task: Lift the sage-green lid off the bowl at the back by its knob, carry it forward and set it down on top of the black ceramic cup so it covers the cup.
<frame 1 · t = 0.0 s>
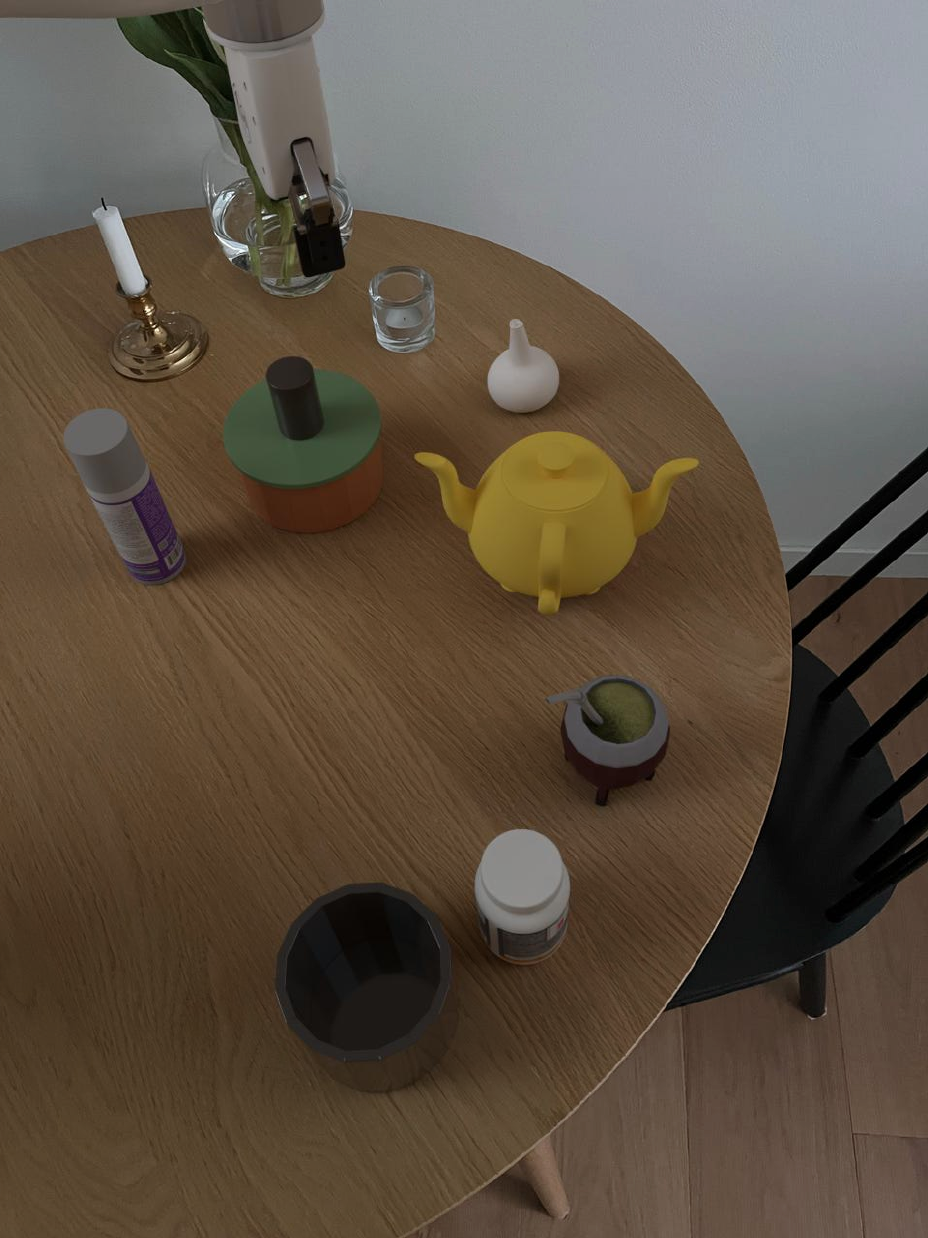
hand: (306, 232, 80), 17 cm above the table, tool pointing down, fingers open, 9 cm apart
container: (158, 563, 86), on the table
pill bottle: (522, 923, 68), on the table
bowl: (315, 479, 90), on the table
mate gourd: (604, 771, 74), on the table
garlic bulb: (523, 394, 94), on the table
teapot: (550, 563, 84), on the table
lid: (303, 429, 85), point 6 cm above the table, touching bowl
cup: (380, 1009, 65), on the table
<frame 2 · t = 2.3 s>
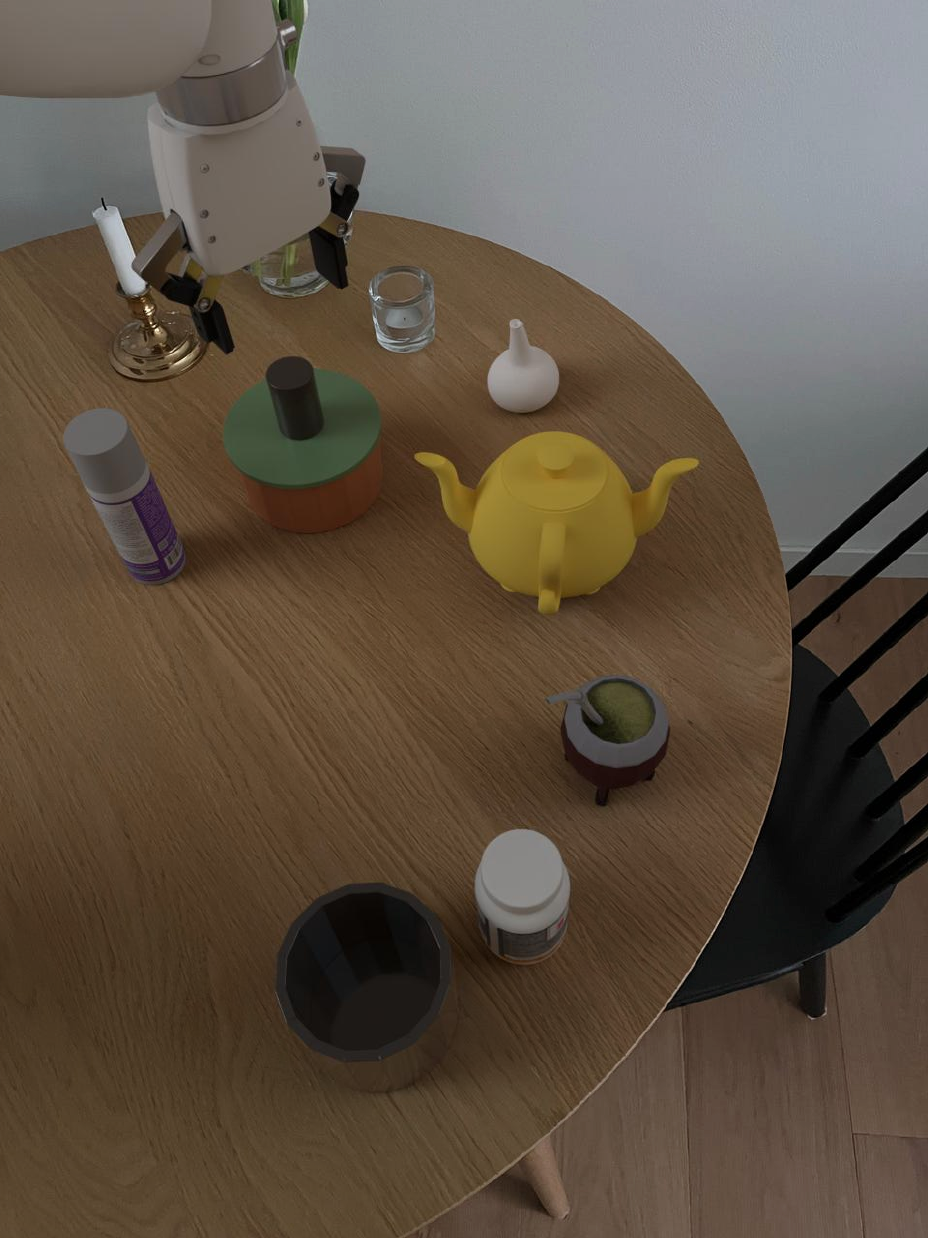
hand: (277, 310, 75), 18 cm above the table, tool pointing down, fingers open, 9 cm apart
nothing on the table moved.
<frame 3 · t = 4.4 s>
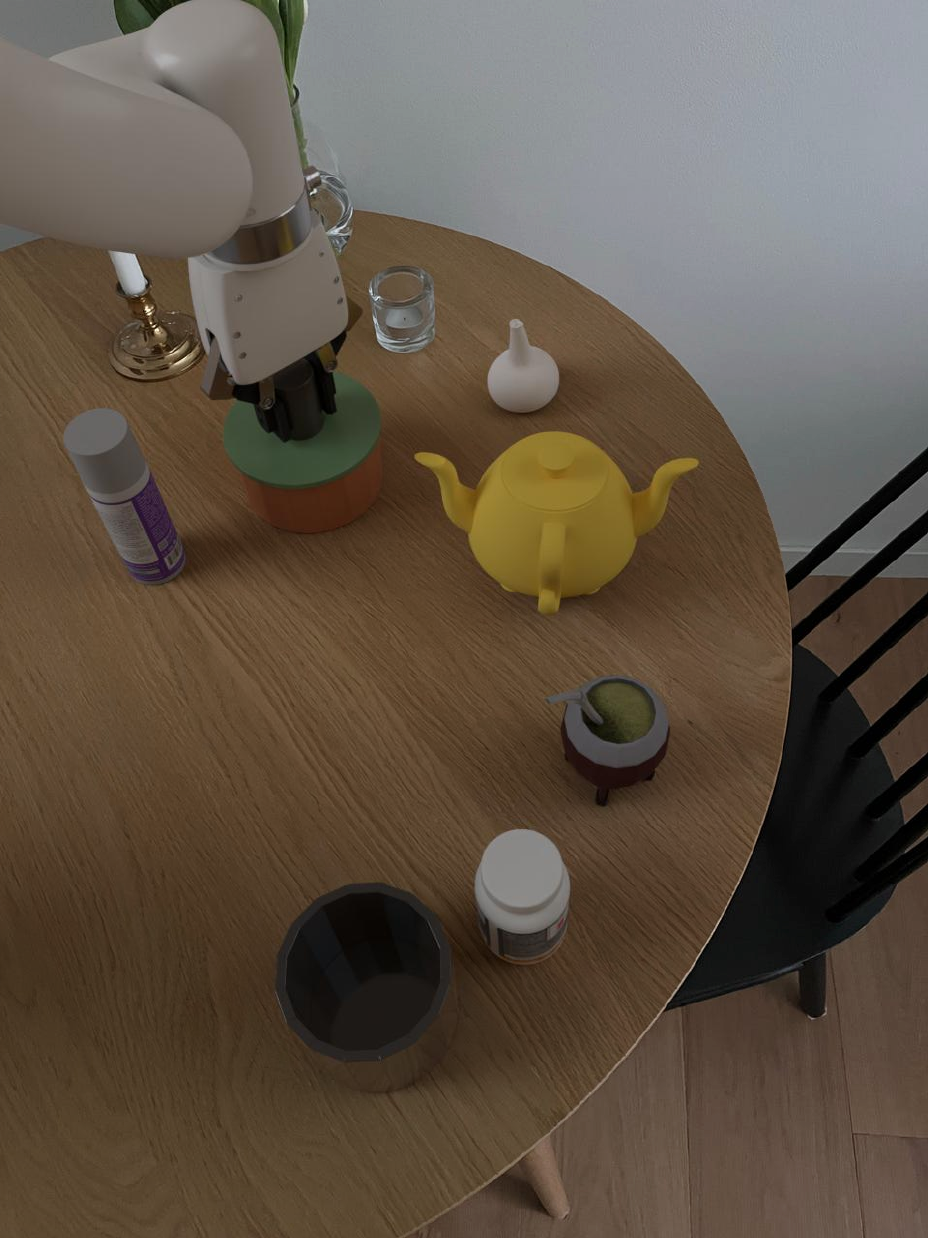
hand: (299, 416, 83), 7 cm above the table, tool pointing down, fingers closed on lid, 3 cm apart
lid: (303, 429, 85), point 6 cm above the table, touching gripper, bowl
everything else where it was.
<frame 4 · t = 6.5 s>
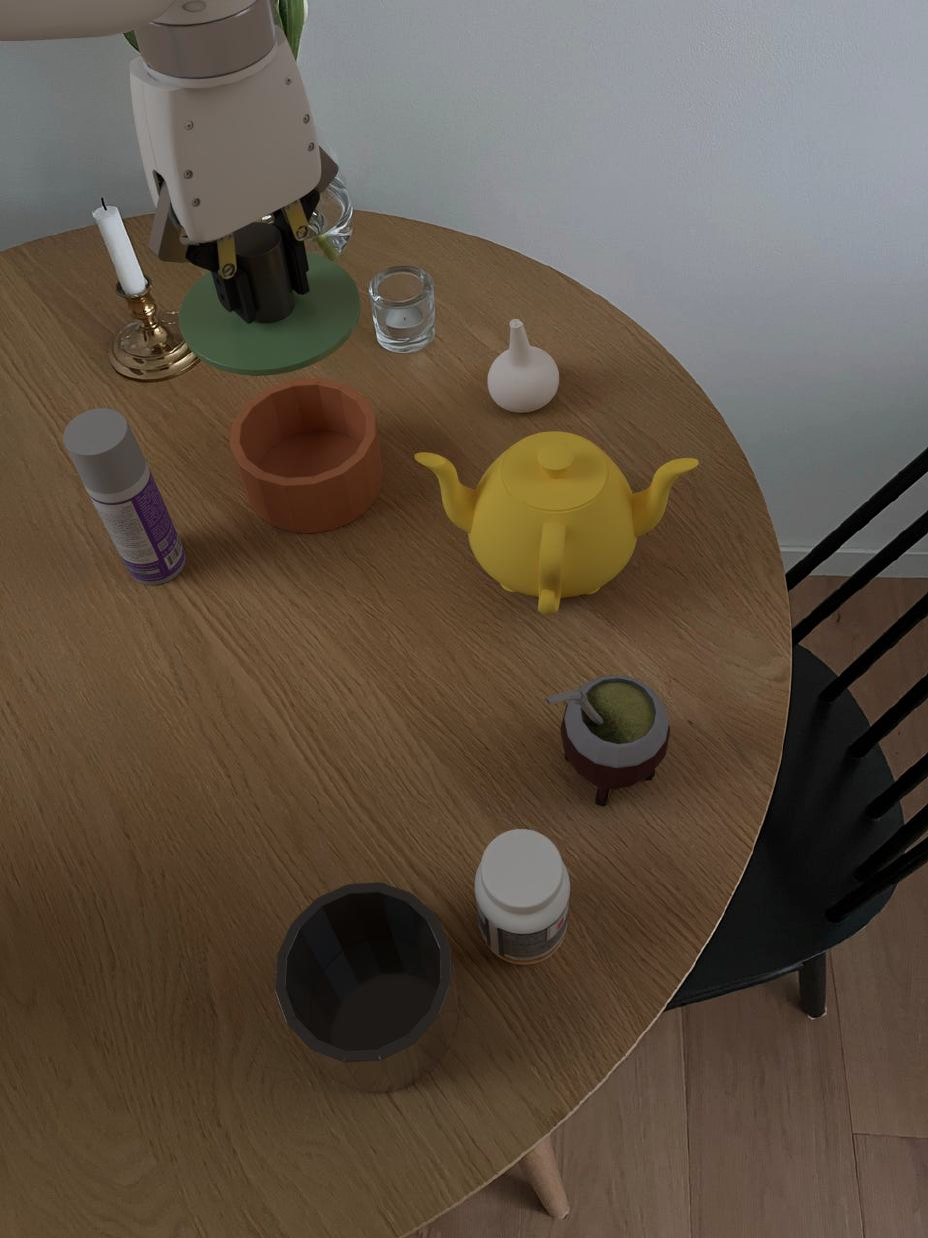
hand: (267, 296, 73), 20 cm above the table, tool pointing down, fingers closed on lid, 3 cm apart
lid: (271, 313, 74), point 18 cm above the table, touching gripper
everything else where it was.
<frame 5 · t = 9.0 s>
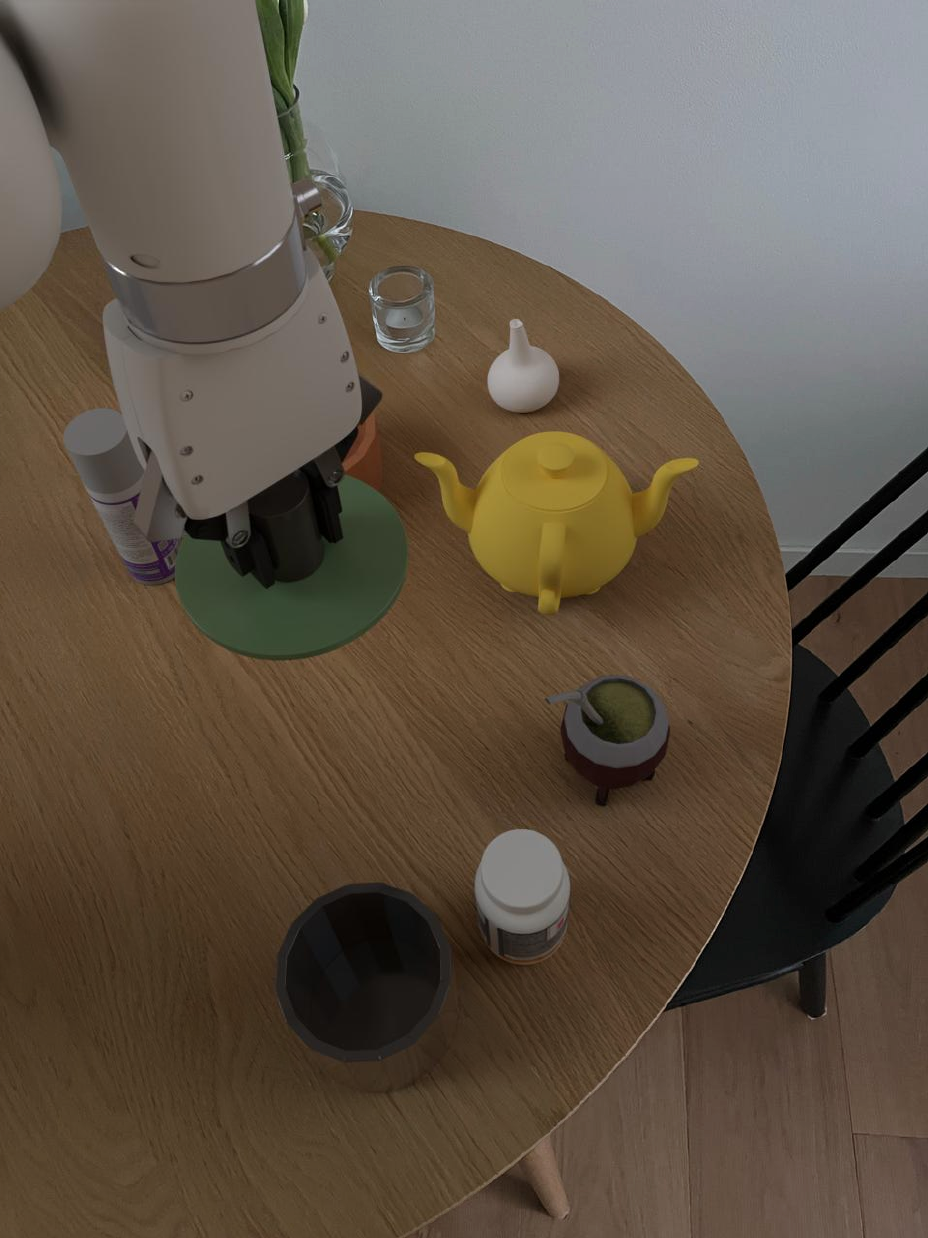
hand: (288, 546, 56), 23 cm above the table, tool pointing down, fingers closed on lid, 3 cm apart
lid: (293, 562, 58), point 22 cm above the table, touching gripper
everything else where it was.
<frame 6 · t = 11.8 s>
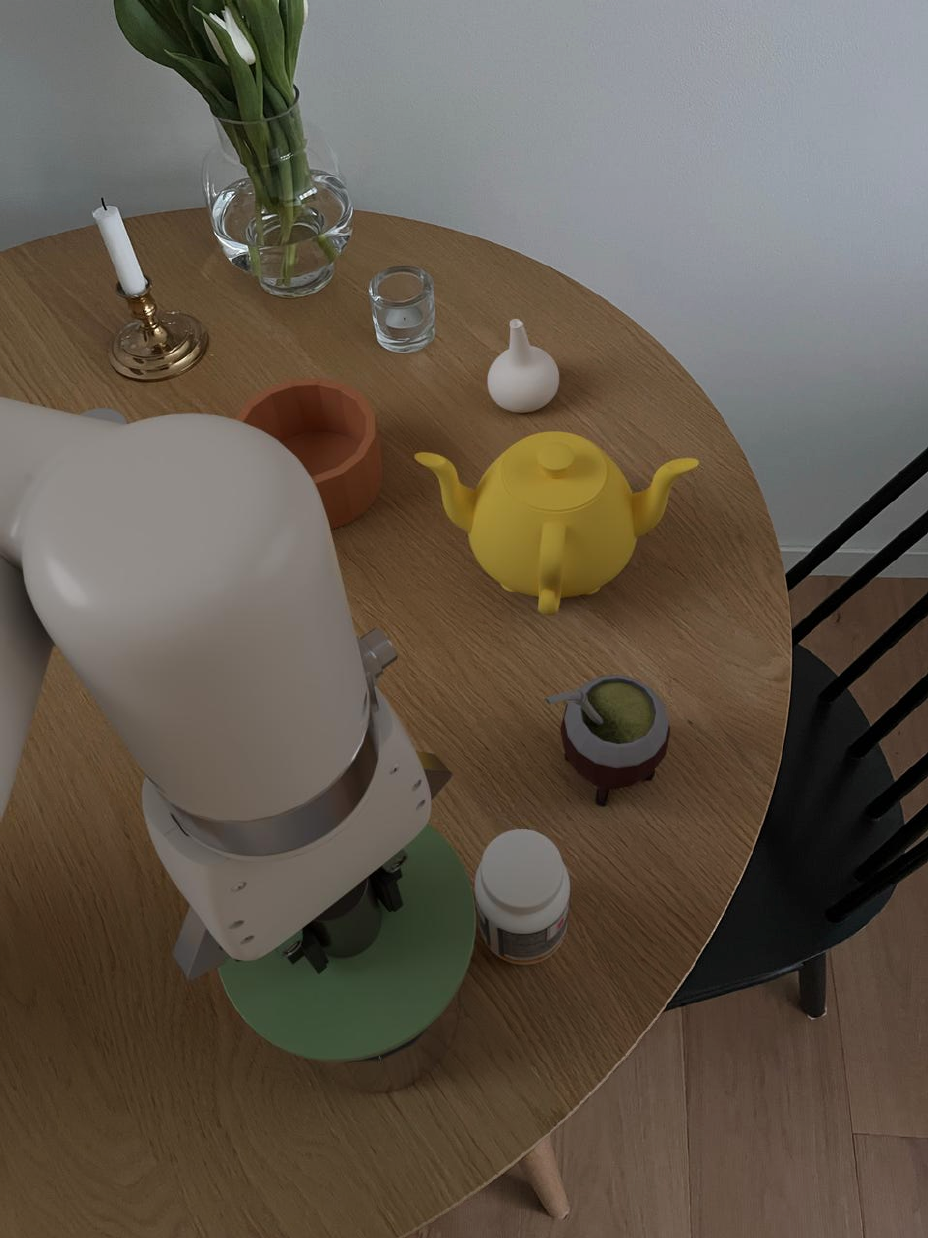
hand: (342, 914, 50), 18 cm above the table, tool pointing down, fingers closed on lid, 3 cm apart
lid: (346, 924, 51), point 17 cm above the table, touching gripper
everything else where it was.
when the fingers open (11 cm above the table, at t = 13.6 s): lid stays where it is, resting on cup.
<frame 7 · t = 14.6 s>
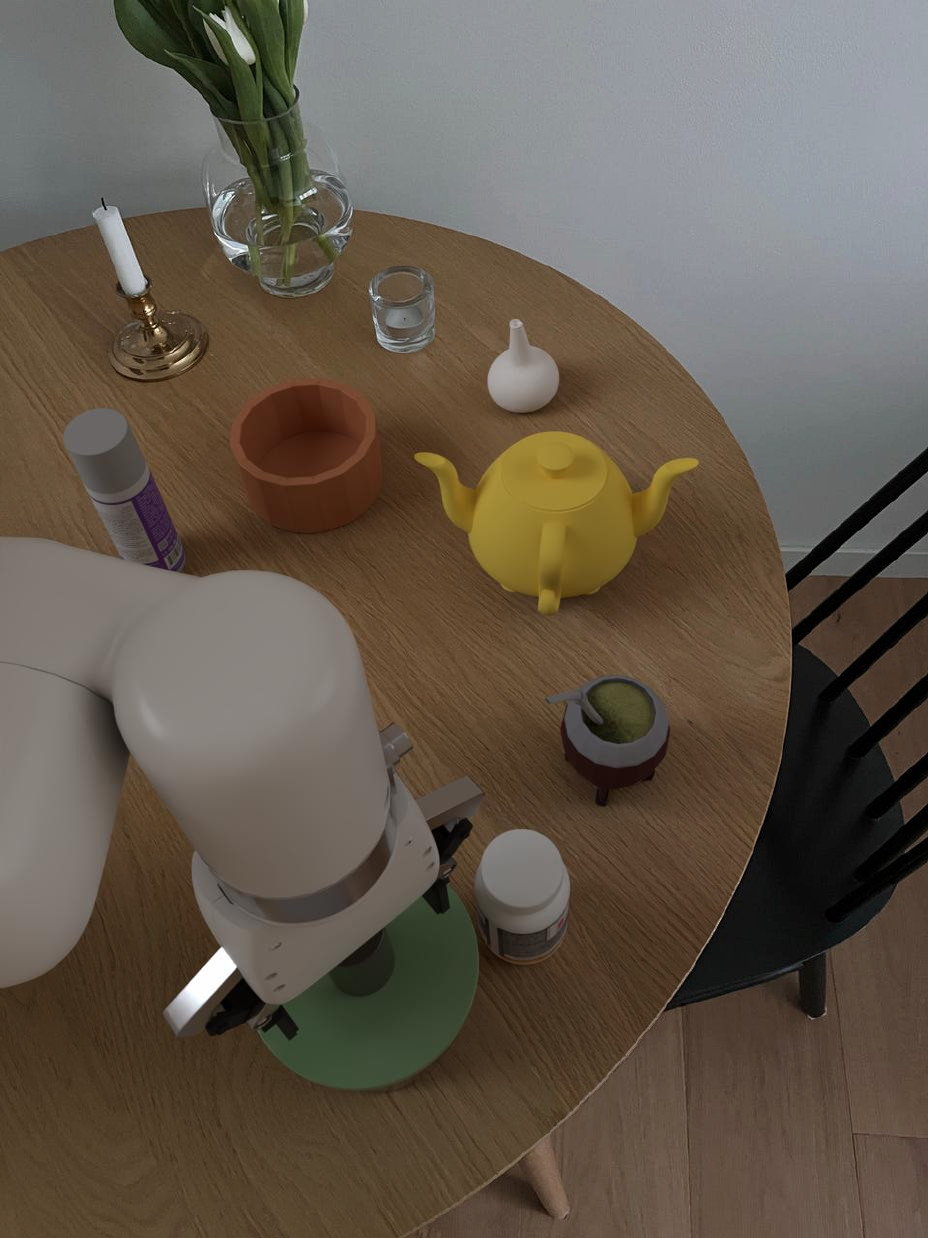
hand: (354, 950, 55), 12 cm above the table, tool pointing down, fingers open, 9 cm apart
lid: (362, 965, 57), point 10 cm above the table, touching cup
everything else where it was.
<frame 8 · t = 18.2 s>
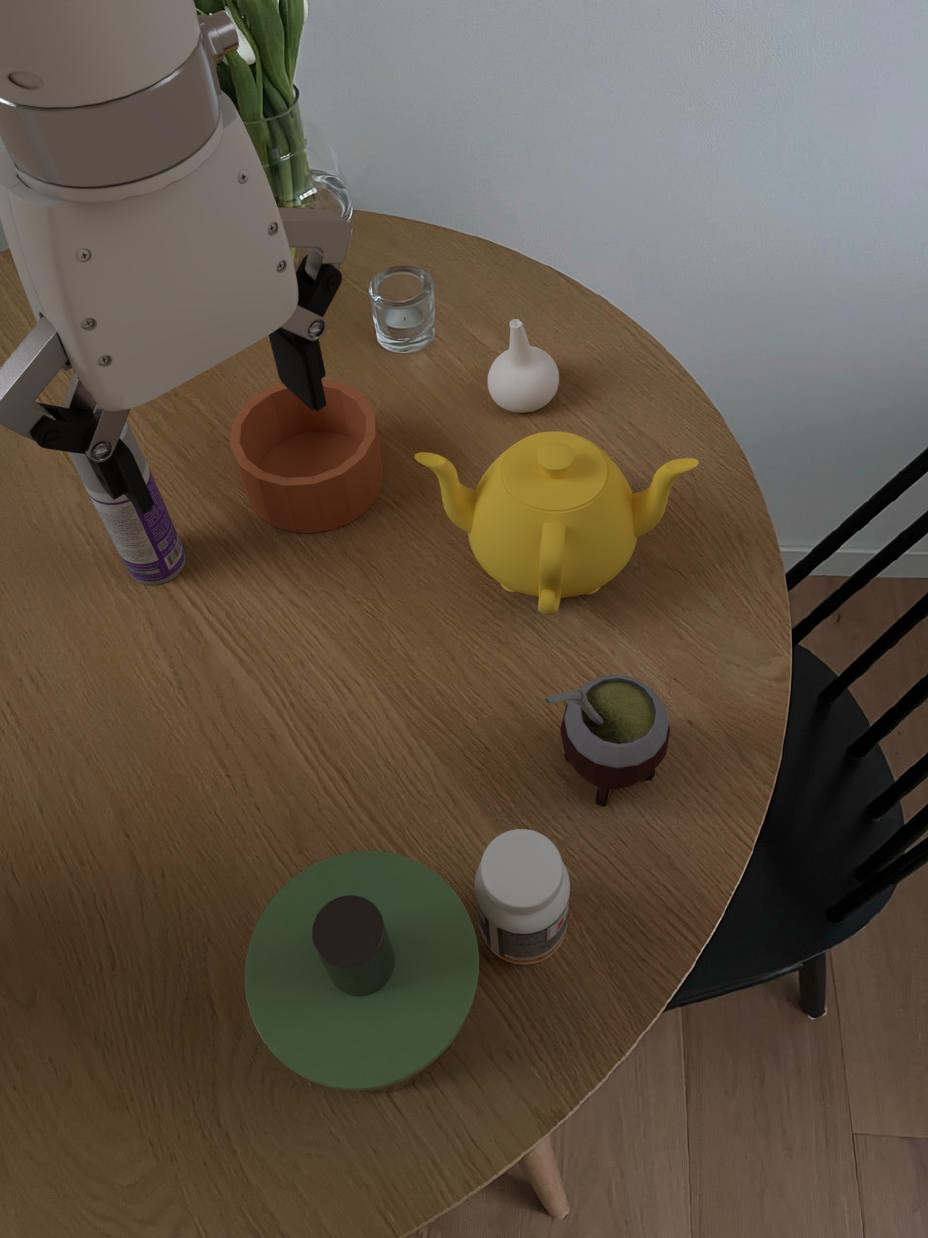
hand: (221, 442, 51), 30 cm above the table, tool pointing down, fingers open, 9 cm apart
nothing on the table moved.
at the end: lid 0.1 cm off-centre on the cup, point 9.6 cm above the cup's base; lid tilted 0°; the gripper is holding nothing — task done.
